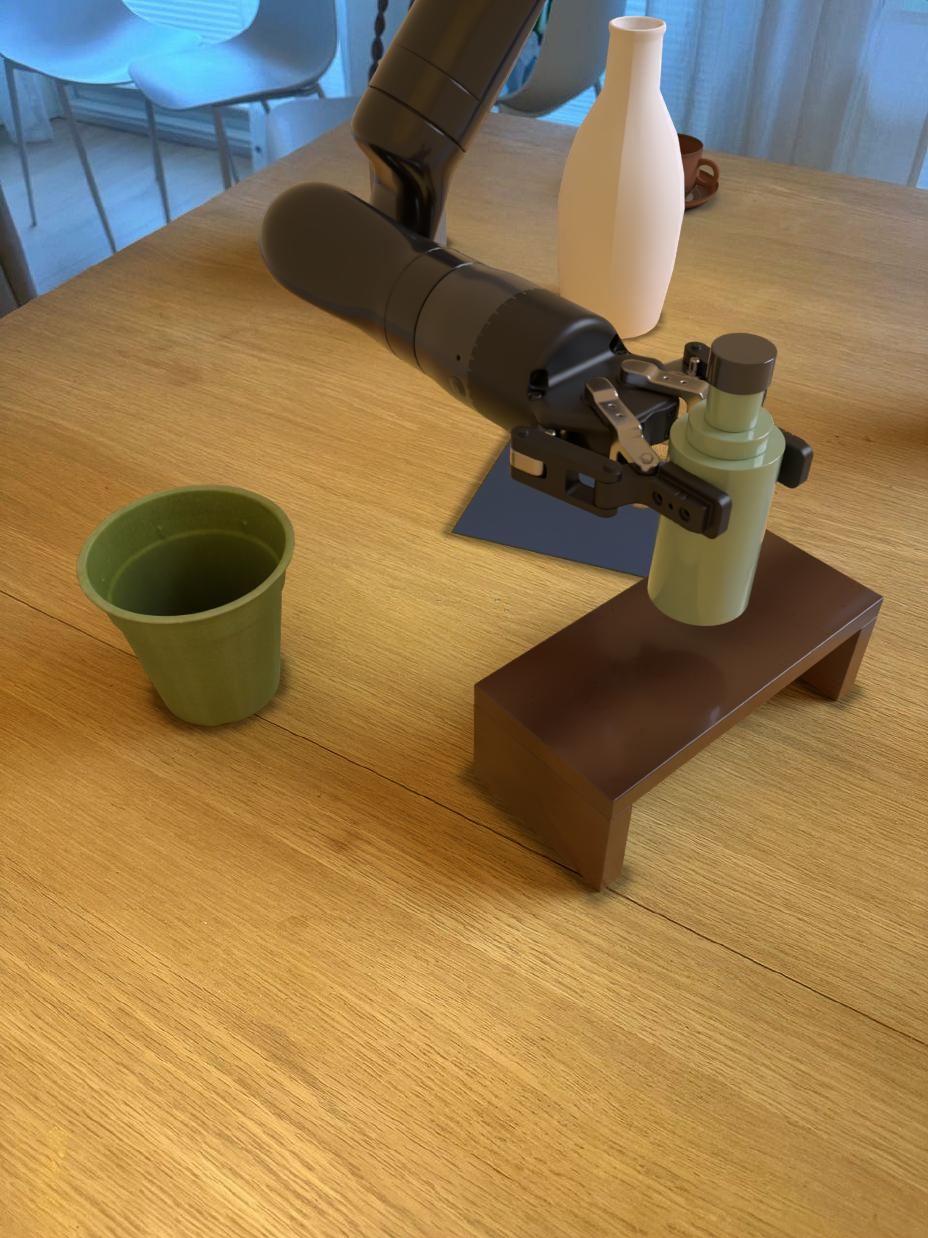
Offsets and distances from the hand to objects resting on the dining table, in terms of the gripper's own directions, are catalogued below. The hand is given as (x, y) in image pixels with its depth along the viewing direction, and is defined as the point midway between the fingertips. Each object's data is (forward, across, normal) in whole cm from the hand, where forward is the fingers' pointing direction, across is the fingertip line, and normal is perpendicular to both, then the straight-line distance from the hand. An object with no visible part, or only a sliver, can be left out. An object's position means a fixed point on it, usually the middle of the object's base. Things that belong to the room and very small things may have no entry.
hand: (765, 493), depth 48 cm
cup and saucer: (-58, +61, +20) cm, 86 cm away
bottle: (-41, +35, +20) cm, 57 cm away
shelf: (-3, 0, +19) cm, 19 cm away
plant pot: (-23, -18, +19) cm, 35 cm away
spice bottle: (-3, 0, +8) cm, 8 cm away
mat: (-22, +12, +19) cm, 32 cm away
